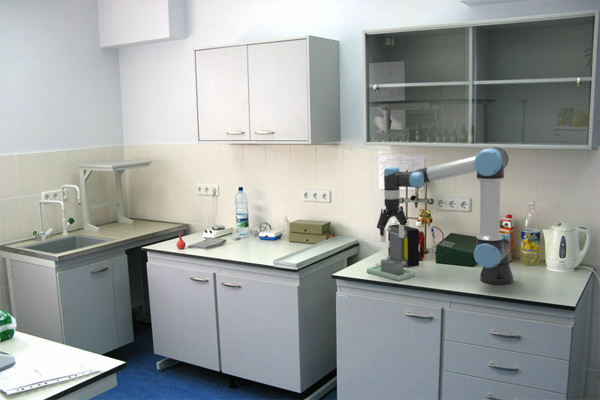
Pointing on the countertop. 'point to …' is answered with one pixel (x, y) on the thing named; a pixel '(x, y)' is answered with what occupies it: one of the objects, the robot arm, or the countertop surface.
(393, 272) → the connector
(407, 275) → the tray
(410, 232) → the electrical component
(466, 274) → the countertop surface
